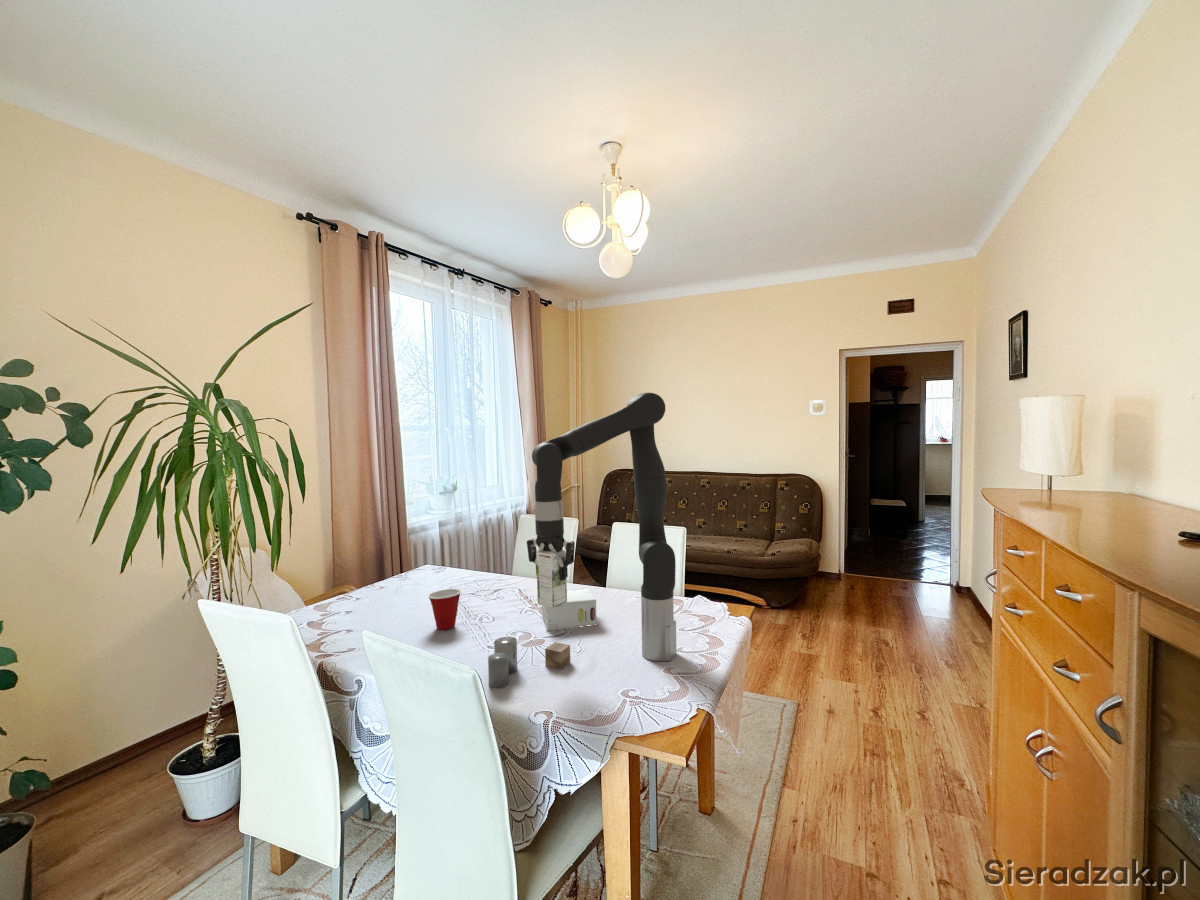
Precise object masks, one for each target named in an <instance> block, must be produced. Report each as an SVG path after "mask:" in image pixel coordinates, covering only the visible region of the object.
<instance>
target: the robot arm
mask: <svg viewBox="0 0 1200 900" xmlns="http://www.w3.org/2000/svg"><path fill="white" fill-rule="evenodd" d="M665 413H666V403H665V401H664V399H663V398H662V397H661V396H660V395H658V394H657V393H654V392H643V393H639V394H636V395H633V396H632V397H631V398H630V399H629V401H628V402H627V404H626V406H625V407H624V408H622V409H620V410H617V411H616V412H613V413H611V414H608V415H606V416H603V417H600V418H598V419H595V420H591V421H589V422H586V423H584V424H582V425H580V426H577V427H575V428H573V429H571V430H569V431H568V432H565V433H563V434H562V435H560V436H557V437H554V438H551V439H549V440H545V441H543V442H541V443H540V444H537V445H536V446H535V447H534V449H533V450H532V453H531V461H532V462H533V464H534V465H535V466H536V478H537V479H536V481H535V484H534V498H535V500H534V501H535V502H534V503H535V504H534V505H535V506H534V516H535V517H534V519H535V521H534V522H535V535H536V538H531V539H528V540H526V547H527V554H528V561H529V562H530V563H534V565H535V574H536V576H537V559H536V552H538V551H551V552H552V553H555V554H556V560H557V561H558V563H559V565H560V567H559V571H560V581H564V580H566V581H567V578H568V575H569V574H568V571H569V570H568V566H569V565H572V564H574V562H575V546H576V545H575V541H574V540H572V541H566V540H565V538H564V534H565V530H564V529H565V528H564V527H565V525H564V524H565V521H564V506H563V500H562V498H563V497H562V485H561V482H562V475H563V473H562V472H563V461H565V460H567V459H569V458H571V457H577V456H580V455H582V454H585V453H586V452H589V451H591V450H592V449H595V448H597V447H599V446H601V445H602V444H605V443H606V442H608V441H611V440H612V439H614V438H616V437H618V436H620V435H623V434H624V433H627V432H629V435H630V442H631V455H632V456H631V458H632V459H631V460H632V471H633V487H634V495H635V505H636V511H637V517H638V525H639V527H638V530H639V531H638V533H639V534H638V558H639V560H640V562H641V564H642V573H643V575H642V579H643V580H642V585H641V587H640V594H641V599H640V600H641V603H640V605H641V608H640V609H641V610H640V611H641V655H642V657H643V658H645V659H646V660H650V661H653V662H664V661H665V662H666V661H667V662H671V661H672V659H673V658H674V657H675V656H676V655H677V620H674V619H675V618H674V616H675V614H674V613H675V612H674V611H675V610H674V607H675V606H674V589H675V588H676V587H675V586H676V555H675V551H674V550H673V548H672V546H671V545H669V543H668V542H667V541H668V540H667V538H666V532H665V524H664V515H665V510H666V503H667V495H668V494H667V493H668V492H667V491H668V490H667V477H666V470H665V466H664V462H663V459H662V458H661V455H660V453H659V449H658V447H657V444H656V437H655V425H656V424H657V423H659V422H660V421H661V420H662V419H663V417H664V416H665ZM537 547H538V549H537ZM563 548H564V549H563ZM563 550H565V551H566V557H565V553H563V554H561V555H559V554H558V552H560V551H563ZM562 558H563V560H562Z"/></svg>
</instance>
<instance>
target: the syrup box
mask: <svg viewBox="0 0 1200 900" xmlns="http://www.w3.org/2000/svg"><path fill="white" fill-rule="evenodd" d="M563 553H565V557H566V549H563V551H560V552H558V554H559V555H561V554H563ZM536 559H537V575H536V585H537V587H536V589H537V604H538V605H540V606H542V605H543V606H547V607H552V608H553V607H556V606H558V605H561V604H563V603H565V602H567V590H568V589H567V579H566V580H564V581H560V571H559V567H560V565H559V563H558V561H557V560H556V554H555V553H552V552H551V551H538V550H537V552H536ZM562 560H563V558H562Z"/></svg>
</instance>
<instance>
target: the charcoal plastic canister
mask: <svg viewBox="0 0 1200 900" xmlns="http://www.w3.org/2000/svg"><path fill="white" fill-rule="evenodd" d="M487 669H488V671H487V673H488V674H487V675H488V676H487V677H488V687H489V686H490V687H491V689H493V688H495V689H496V690H497V689H498V688H499V689H503V688H505V686H506V687H508V685H509V675H508V655H507V654H505V653H492V654H490V655H488V657H487ZM490 687H489V688H490ZM495 689H494V690H495Z"/></svg>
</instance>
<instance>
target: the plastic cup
mask: <svg viewBox="0 0 1200 900" xmlns="http://www.w3.org/2000/svg"><path fill="white" fill-rule="evenodd" d="M461 593H462V589H459V588H447V589H440V590H437V591H433V592H430V593H429V594H427V597H428V599H429V601H430V604H431V607H432V612H433V618H434V621H435V626H436V627H435V628H436V629H437V630H438V631H441V630H445V631H449V630H448V629H450V630H452V629H454V628H455V627H456V620H457V615H458V608H459V603H460V596H461ZM454 626H455V627H454ZM453 627H454V628H453ZM451 628H452V629H451Z"/></svg>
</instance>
